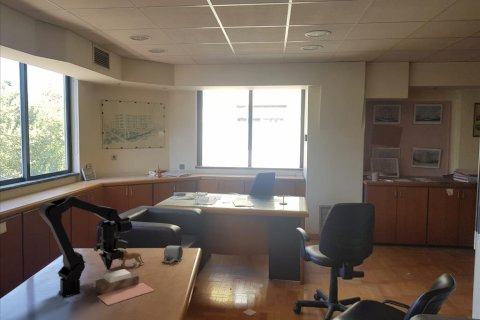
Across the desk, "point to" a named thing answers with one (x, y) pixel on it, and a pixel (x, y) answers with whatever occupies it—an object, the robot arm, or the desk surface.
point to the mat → (125, 293)
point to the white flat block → (117, 275)
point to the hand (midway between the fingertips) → (108, 269)
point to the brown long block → (116, 284)
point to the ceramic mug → (173, 253)
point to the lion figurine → (130, 257)
